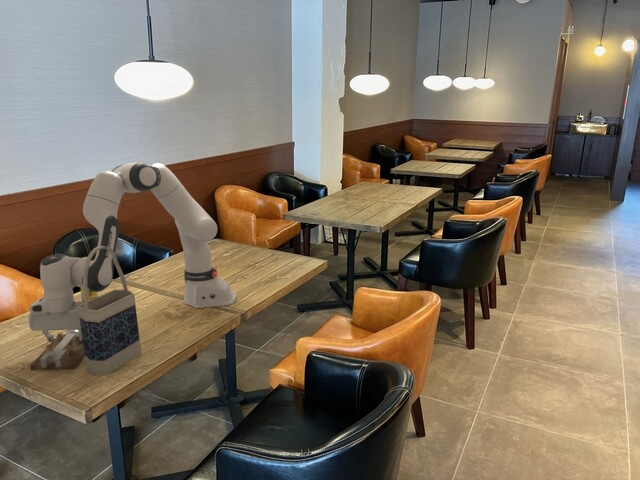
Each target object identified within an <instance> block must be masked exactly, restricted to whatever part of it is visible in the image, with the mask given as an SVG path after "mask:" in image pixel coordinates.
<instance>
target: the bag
mask: <svg viewBox="0 0 640 480" xmlns="http://www.w3.org/2000/svg"><path fill="white" fill-rule="evenodd" d="M104 247H106V246H98V245H97V246H96V247H94V248H93V249H92V250H91V251H90V252H89V253H88V256H86V257H87V260H86V262H85V266H84V272H83V298H84V303H83V304H80V305H78V310H79V318H80V326H81V333H82V341H83V348H84V356H85V357H84V362H85V369H86V371H88V372H89V374H90V375H91V376H108V375H109V374H111V373H113V372H115V371H116V370H117V369H119V368H120V367H121V368H122V366H124V365H126V364H128V363H129V362H130V361H132V360H134V359H135V358H137V357H138V356H141V355H142V348H141V341H140V332H139V323H138V315H137V307H136V306H137V305H136V300H135V299H136V298H135V293H134V292H132V291H130V290H129V289H128V285H127V280H126V278H125V274H124V273H123V271H122V268H121V266H120V263H119V261H118V258H117V255H116V252H115V253H114V251H113V249H111V248H110V247H107V248H105V249H107V250H108V251H109V252H110V254H111V256H112V259H113V261H114V263H113V265H114V266H115V268H116V270H117V273H118V275H119V278H120V281H121V284H122V288H123V289H112V290H111V291H108V292H105V293H104V294H101V295H99V296H98V297H96V298H94V299H92V300H90V301H88V291H87V276H88V268H89V264H90V261H91V260H92V258H93V257H94V255H96V252H97V250H100V249H104Z"/></svg>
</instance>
